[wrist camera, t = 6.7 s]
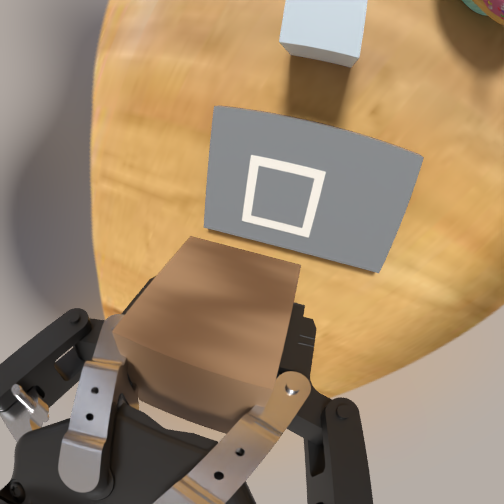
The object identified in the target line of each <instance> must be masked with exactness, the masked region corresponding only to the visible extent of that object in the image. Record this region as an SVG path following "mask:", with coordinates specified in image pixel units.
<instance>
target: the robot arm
mask: <svg viewBox="0 0 504 504" xmlns="http://www.w3.org/2000/svg"><path fill="white" fill-rule="evenodd" d="M155 277H156V276H155ZM155 277H153V278H151V279H150V280H149V281H148V282H147V283H146V285H145V286H144V288H142V289H141V291H140V292H139V294H137V295H136V297H135V298H134V299H133V300H132V302H131V303H130V304H129V305H128V306H127V308H126V309H125V310H124V311H123V313H122V314H115V315H112V316H110V317H108V318H107V319H106V320H97V319H90V318H89V317H88V314H87V312H86V311H84V310H83V309H80V308H75V309H71V310H69V311H68V312H66V313H65V314H63V315H62V316H61V317H59V318H58V319H57V320H55V321H54V322H53V323H52V324H50V325H49V326H47V327H46V328H45V329H44V330H42V331H41V332H40V333H38V334H37V335H36V336H35V337H33V338H32V339H31V340H30V341H28V342H27V343H26V344H24V345H23V346H22V347H21V348H19V349H18V350H17V351H16V352H15V353H13V354H12V355H11V356H10V357H8V358H7V359H6V360H5V361H4V362H3V363H1V364H0V416H1V417H2V419H3V421H4V423H5V424H6V426H7V428H8V429H9V431H10V432H11V434H12V435H13V437H14V438H15V440H16V441H17V444H16V447H15V463H14V471H13V475H12V478H11V480H10V482H9V483H8V484H7V485H6V486H5V487H4V488H3V489H1V490H0V504H256V502H255V500H254V498H253V496H252V494H251V492H250V489H249V487H248V485H247V483H246V480H247V478H248V477H249V476H250V475H251V474H252V472H253V471H254V470H255V469H256V468H257V466H258V465H259V464H260V463H261V461H262V460H263V459H264V458H265V456H266V455H267V454H268V453H269V451H270V450H271V449H272V447H273V446H274V445H275V444H276V442H277V441H278V439H279V438H280V436H281V435H282V434H283V432H284V431H285V429H286V428H287V429H289V430H290V431H292V432H294V433H296V434H297V435H299V436H301V437H303V438H304V449H305V463H306V464H305V465H306V480H307V481H306V482H307V502H308V504H373V498H372V490H371V482H370V475H369V467H368V461H367V454H366V449H365V442H364V436H363V430H362V425H361V419H360V415H359V410H358V408H357V406H356V405H355V403H354V402H352V401H351V400H349V399H347V398H336V399H333V400H332V399H330V398H328V397H326V396H324V395H322V394H320V393H319V392H318V391H316V390H315V388H314V387H313V386H312V384H311V381H310V371H311V365H312V358H313V351H314V343H315V335H316V326H315V324H314V321H313V319H310V318H306V317H303V314H304V308H305V305H301V304H298V303H293V307H292V312H291V317H290V321H289V326H288V330H287V335H286V339H285V343H284V348H283V352H282V356H281V360H280V364H279V368H278V373H277V377H276V381H275V384H274V388H273V391H272V393H271V396H270V398H269V400H268V402H267V404H266V406H265V407H261V406H258V405H255V406H254V407H253V408H252V410H251V411H250V412H249V413H246V414H245V415H244V416H243V417H242V418H241V419H240V420H239V421H238V422H237V423H236V424H235V425H234V427H233V428H232V429H231V430H230V431H229V432H228V433H227V434H226V435H225V436H224V438H223V439H222V440H221V441H220V442H219V443H218V442H217V441H214V440H211V439H208V438H205V437H202V436H200V435H197V434H194V433H187V432H180V431H174V430H168V429H165V428H163V427H162V426H161V425H159V424H158V423H157V422H155V421H154V420H153V419H151V418H150V417H149V416H148V415H146V414H145V413H144V412H141V411H139V402H138V390H139V389H138V386H137V384H136V383H134V382H131V380H130V377H129V375H128V372H127V371H128V365H129V364H128V361H127V358H126V357H125V356H123V355H121V354H120V352H119V350H118V347H117V344H116V342H115V339H114V336H113V333H112V331H113V329H114V328H115V327H116V325H117V324H118V323H119V322H120V320H121V319H122V318H123V316H124V315H125V314H126V313H127V311H128V310H129V309H130V308H131V306H132V305H133V304H134V303H135V301H136V300H137V299H138V298H139V296H140V295H141V294H142V293H143V292H144V290H145V289H146V288H147V287H148V285H149V284H150V283H151V282H152V281H153V279H154V278H155ZM72 346H73V348H72V349H71V350H70V351H69V352H67V353H66V354H65V355H64V356H63V357H61V358H60V359H59V360H58V361H57V362H55V361H56V360H57V359H58V358H59V357H60V356H61V355H63V354H64V353H65V352H66V351H67V350H69V349H70V348H71V347H72ZM78 381H79V384H78V388H77V392H76V396H75V400H74V405H73V409H72V414H71V418H69V419H66V420H63V421H60V422H57V423H54V424H51V425H48V426H45V427H42V424H43V422H47V421H48V420H49V415H48V412H49V407H50V406H52V405H53V404H54V403H55V402H56V401H57V400H58V399H59V398H60V397H61V396H62V395H64V394H65V393H66V392H67V391H68V390H69V389H70V388H71V387H72V386H74V385H75V384H76V383H77V382H78Z"/></svg>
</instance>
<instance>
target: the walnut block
mask: <svg viewBox="0 0 504 504" xmlns="http://www.w3.org/2000/svg"><path fill="white" fill-rule="evenodd" d="M300 268H301V265H299V264H295V263H291V262H287V261H284V260H280V259H276V258H272V257H268V256H265V255H261V254H257V253H253V252H249V251H245V250H242V249H238V248H234V247H230V246H226V245H223V244H219V243H215V242H211V241H207V240H204V239H200V238H196V237H192V236H190V238H189V239H188V240H187V241H186V242H185V243H184V244H183V245H182V247H181V248H180V249H179V250H178V251H177V252H176V254H175V255H174V256H173V257H172V258H171V259H170V260H169V262H168V263H167V264H166V265H165V266H164V268H163V269H162V270H161V271H160V272H159V273H158V275H157V276H156V277H155V278H154V279H153V281H152V282H151V283H150V284H149V285H148V287H147V288H146V289H145V290H144V292H143V293H142V294H141V295H140V296H139V298H138V299H137V300H136V301H135V303H134V304H133V305H132V306H131V308H130V309H129V310H128V311H127V313H126V314H125V315H124V316H123V318H122V319H121V320H120V322H119V323H118V324H117V325H116V327H115V328H114V329H113V331H112V333H113V336H114V339H115V342H116V344H117V347H118V350H119V352H120V354H121V355H123V356H125V357H126V358H127V361H128V364H129V365H128V371H127V372H128V375H129V377H130V380H131V382H134V383H136V384H137V386H138V389H139V390H138V397H139V400H141V401H143V402H145V403H147V404H149V405H151V406H154V407H156V408H158V409H161V410H163V411H165V412H168V413H170V414H173V415H175V416H177V417H180V418H183V419H185V420H188V421H190V422H193V423H196V424H199V425H202V426H204V427H208V428H211V429H214V430H217V431H219V432H223V433H226V434H227V433H228V432H229V431H230V430H231V429H232V428H233V427H234V425H235V424H236V423H237V422H238V421H239V420H240V419H241V418H242V417H243V416H244V415H245V414H246V413H249V412H250V411H251V410H252V408H253V407H254V406H255V405H258V406H261V407H265V406H266V404H267V402H268V400H269V398H270V396H271V393H272V391H273V388H274V384H275V381H276V377H277V373H278V368H279V364H280V360H281V356H282V352H283V348H284V343H285V339H286V335H287V330H288V326H289V321H290V317H291V312H292V307H293V303H294V298H295V293H296V288H297V283H298V278H299V273H300Z"/></svg>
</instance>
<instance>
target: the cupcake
mask: <svg viewBox="0 0 504 504" xmlns="http://www.w3.org/2000/svg"><path fill="white" fill-rule="evenodd" d="M462 1H463V2H464V3H465V4H466V5H467V6H468V7H469V8H470V9H471V10H473V11H475V12H476V13H478V14H481V15H484V16H489V17H490V18H491V19H493V20H494V21H496V22H497V23H499V24H502V25H504V0H462Z"/></svg>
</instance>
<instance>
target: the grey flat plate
mask: <svg viewBox="0 0 504 504" xmlns="http://www.w3.org/2000/svg"><path fill="white" fill-rule="evenodd" d="M423 158H424V157H422V156H421V155H419V154H417V153H414V152H412V151H409V150H406V149H404V148H401V147H398V146H395V145H393V144H390V143H387V142H384V141H381V140H378V139H375V138H372V137H369V136H365V135H362V134H359V133H355V132H352V131H348V130H345V129H341V128H337V127H334V126H330V125H326V124H322V123H318V122H313V121H309V120H304V119H300V118H295V117H290V116H285V115H280V114H274V113H269V112H263V111H257V110H250V109H243V108H235V107H227V106H214V112H213V121H212V130H211V140H210V151H209V162H208V174H207V187H206V201H205V216H204V228H208V229H212V230H216V231H220V232H224V233H228V234H231V235H235V236H239V237H243V238H247V239H251V240H255V241H259V242H263V243H267V244H271V245H274V246H278V247H282V248H286V249H290V250H294V251H298V252H301V253H305V254H309V255H313V256H317V257H320V258H324V259H328V260H332V261H336V262H339V263H343V264H347V265H351V266H354V267H358V268H362V269H365V270H369V271H373V272H376V273H379V272H380V270H381V268H382V266H383V264H384V261H385V259H386V257H387V255H388V252H389V250H390V248H391V246H392V243H393V241H394V238H395V236H396V234H397V231H398V229H399V226H400V224H401V221H402V219H403V216H404V214H405V211H406V208H407V206H408V203H409V200H410V197H411V195H412V192H413V189H414V186H415V183H416V180H417V177H418V174H419V171H420V168H421V165H422V161H423Z"/></svg>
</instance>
